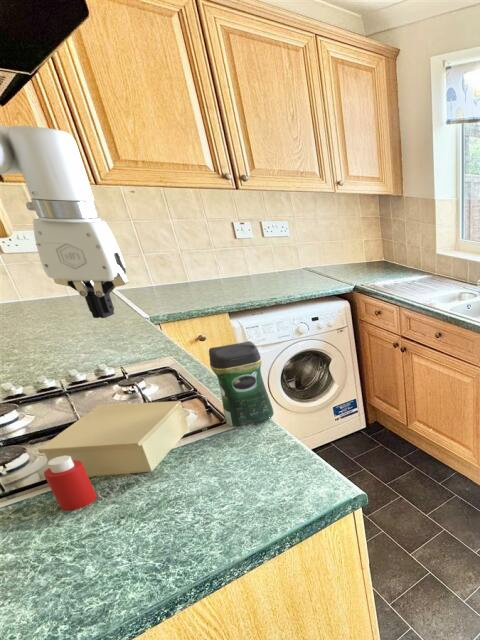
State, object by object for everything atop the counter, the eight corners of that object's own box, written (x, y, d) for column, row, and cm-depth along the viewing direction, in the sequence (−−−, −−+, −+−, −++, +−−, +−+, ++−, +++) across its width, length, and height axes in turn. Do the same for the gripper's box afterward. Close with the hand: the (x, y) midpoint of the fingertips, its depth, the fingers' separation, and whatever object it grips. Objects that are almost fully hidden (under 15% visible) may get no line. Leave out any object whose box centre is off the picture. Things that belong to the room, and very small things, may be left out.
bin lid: (139, 446, 75) (137, 443, 75) (39, 453, 72) (37, 449, 71) (181, 404, 90) (180, 400, 89) (100, 408, 86) (98, 404, 86)
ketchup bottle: (55, 515, 68) (31, 469, 64) (74, 497, 72) (52, 453, 68) (87, 512, 69) (66, 467, 65) (104, 495, 73) (84, 451, 69)
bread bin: (153, 474, 79) (141, 444, 76) (58, 482, 75) (43, 450, 72) (190, 431, 92) (181, 404, 90) (111, 436, 89) (100, 408, 86)
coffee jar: (267, 406, 104) (252, 336, 96) (278, 419, 99) (262, 345, 91) (222, 418, 98) (201, 344, 90) (231, 432, 93) (210, 354, 85)
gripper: (-7, 209, 66) (40, 321, 74) (106, 215, 70) (139, 322, 77) (31, 207, 73) (70, 310, 80) (132, 213, 76) (160, 311, 84)
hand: (104, 315), depth 79 cm, fingers closed
